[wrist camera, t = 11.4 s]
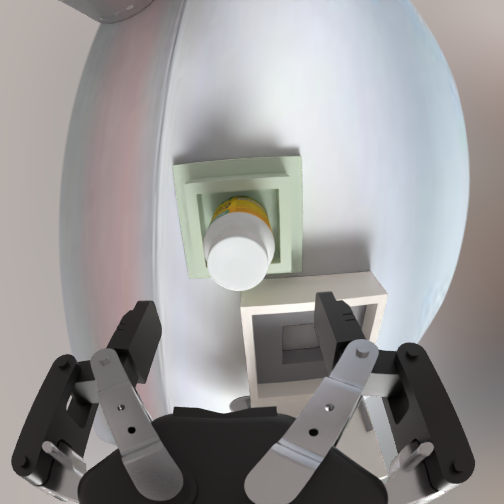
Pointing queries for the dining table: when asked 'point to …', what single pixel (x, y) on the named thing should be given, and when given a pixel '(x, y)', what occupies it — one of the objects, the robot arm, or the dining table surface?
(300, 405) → the case
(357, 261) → the dining table surface
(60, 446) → the robot arm
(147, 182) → the dining table surface
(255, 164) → the sage holder
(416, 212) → the dining table surface
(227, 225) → the supplement bottle
